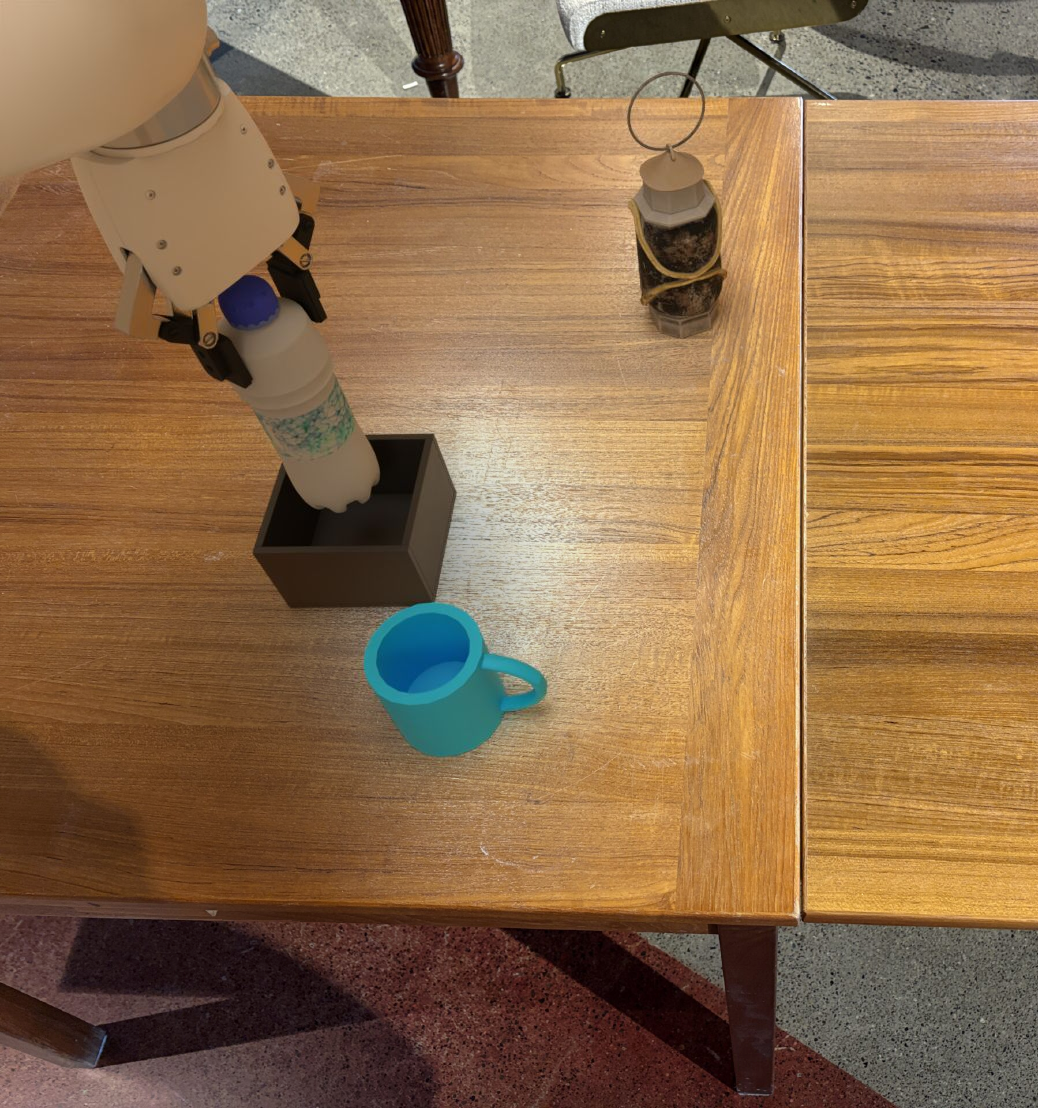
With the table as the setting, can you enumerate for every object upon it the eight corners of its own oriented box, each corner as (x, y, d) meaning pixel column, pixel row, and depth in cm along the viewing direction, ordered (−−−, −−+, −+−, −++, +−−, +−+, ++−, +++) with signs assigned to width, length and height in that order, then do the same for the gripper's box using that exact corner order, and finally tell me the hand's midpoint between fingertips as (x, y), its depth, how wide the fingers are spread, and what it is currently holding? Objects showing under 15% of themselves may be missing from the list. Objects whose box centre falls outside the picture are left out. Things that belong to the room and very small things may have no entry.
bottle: (347, 442, 85) (246, 236, 69) (406, 479, 83) (316, 275, 66) (281, 496, 82) (160, 295, 66) (341, 537, 80) (229, 338, 63)
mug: (385, 754, 78) (349, 703, 71) (411, 657, 83) (379, 600, 76) (547, 761, 77) (526, 709, 71) (564, 662, 82) (546, 605, 75)
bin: (433, 606, 85) (407, 551, 79) (289, 607, 86) (251, 553, 79) (456, 492, 92) (434, 433, 86) (322, 493, 92) (290, 435, 86)
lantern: (709, 277, 107) (695, 35, 87) (741, 328, 103) (734, 86, 83) (628, 302, 106) (594, 61, 85) (657, 354, 101) (629, 114, 81)
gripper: (212, -1, 61) (320, 253, 76) (-49, 159, 53) (130, 410, 67) (309, 31, 59) (401, 287, 73) (52, 204, 50) (214, 454, 65)
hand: (270, 344), depth 70 cm, fingers closed on bottle, 6 cm apart
